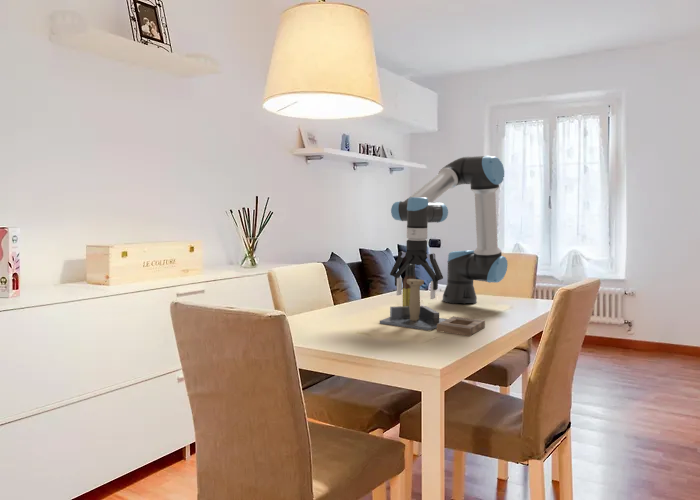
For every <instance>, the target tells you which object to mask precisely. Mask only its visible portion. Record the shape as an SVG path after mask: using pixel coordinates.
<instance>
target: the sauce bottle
mask: <svg viewBox="0 0 700 500" xmlns="http://www.w3.org/2000/svg"><path fill="white" fill-rule="evenodd" d="M404 275H405V276H404V278H403V279H402V306H409V305H410V291H411V287H410V285H409V284H407V279H417V278H416V264H415V265H411V264H410V265H409V266H408V267H407V268H406V270H405V274H404Z"/></svg>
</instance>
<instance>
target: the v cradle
mask: <svg viewBox="0 0 700 500" xmlns="http://www.w3.org/2000/svg"><path fill="white" fill-rule="evenodd" d="M389 309H390V310H389V316H388V317H387V318H383V319H381V320H379V324H381V325H387V326H395V327H403V328H409V329H415V330H421V329H423V331H428V330H431V331H433V330H435V329H437V324H438V323H440V322H443V321H445V320H447V319H448V318H443V317H440V312H438V311H437V310H434V309H433V308H430V307H429V306H427V305H425V306H424V305H420V314H419V320H417V321H412V320H410V309H409V306H403V305H402V306H401V305H400V306H390V307H389ZM434 328H435V329H434ZM432 329H433V330H432Z"/></svg>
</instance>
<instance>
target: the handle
mask: <svg viewBox="0 0 700 500" xmlns="http://www.w3.org/2000/svg"><path fill="white" fill-rule="evenodd" d="M407 284H409V285H410V287H411V291H410V305H409V309H410V320H412V321H417V320H419V314H420V306H421V295H420V294H421V292H420V290H421V289H420V288H421V286H423V285H424V284H425V280H424V279H421V278H420V279H418V278H416V279H407Z"/></svg>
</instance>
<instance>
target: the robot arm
mask: <svg viewBox="0 0 700 500" xmlns="http://www.w3.org/2000/svg"><path fill="white" fill-rule="evenodd" d="M504 177H505V169H504V164H503V163H502V161H501V159H500V158H499V157H497V156H493V155H480V156H463V157H459V158H457V159H455V160H453V161H451V162H448V164H446V165H444V167H442V168H441V169H439V171H438V173H437V175H435V177H433V178H432V179H431V180H429V181H428V182H427V183H425V184H424V185H423V186H422V187H420V188H419V189H418V190H417V191H416V192H414V193H413V194H411V195H410V196H409V197H408V198H407V199H404V201H401V200H400V201H395V202H394V203H392V205H391V208H390V214H391V217H392V218H393V219H394V220H395V221H400V222H406V238H407V240H406V244H405V245H406V248H405V249H406V252H405V251H403V250H402V251H399V252H397V258H396V260H395V262H394V264H393V266H392V268H391V271H390V272H389V275H390V276H392V277H394V286H395V287H396V296H401V295H403V278H402V277H401V276H402V275H403V273H404V272H406V268H407V267H408V266H409V265H410V264H411V265H415V266H421V267H422V268H423V269H424V270H425V271H426V273H427V274H428V275H429V277H430V278H431V281H430V295H429V297H430V300H435V299H436V291H437V290H438V288H439V281H441V280H443V279H444V275H443V273H442V272H441V269H440V267H439V263H438V262H437V259H436V254H435V253H434V252H432V253H428V240H427V239H428V223H436V224H437V223H442V222H444V221H445V220H446V219H447V218H448V215H449V209H448V207H447V205H446V204H445V203H443V202H439V201H436V200H437V199H438V198H439V197H441V196H442V195H444V193H446V192H447V191H448V190H451V189H454V188H456V187H457V186H459V185H470V191H472V192H473V194H474V208H475V209H474V210H475V211H474V212H475V230H476V231H475V232H476V248H475V250H474V249H473V250H472V249H471V250H470V249H469V250H457V251H456V250H454V251H451V252H449V253H448V255H447V274H446V275H447V278H446V279H447V282H446V287H445V289H444V292H443V294H442V302H444V301H445V302H444V303H448V302H450V303H449V304H454V303H473V304H476V303H477V302H478V301H477V299H478V298H477V294H476V291H475V290H476V289H475V287H474V281H477V282H478V281H479V282H486V283H489V284H490V283H496V284H497V283H500V282H501V281H502V280H503V279H504V278H505V276H506V273H507V271H508V260H507V258H506V256H504V255H502V249H500V248H499V247H498V229H497V228H498V227H497V226H498V224H497V222H498V221H497V220H498V219H497V201H496V199H497V198H496V192H497V191H498V190H499V188H500V185H501V184H502V182H503V181H504ZM435 201H436V202H435ZM404 258H406V261H405V262H404V263H403V265H402V266H401V264H402V262H403V260H404ZM427 259H428V260H429V261H430V264H431V266H430V264H429V262H428V260H427ZM400 266H401V267H400Z"/></svg>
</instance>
